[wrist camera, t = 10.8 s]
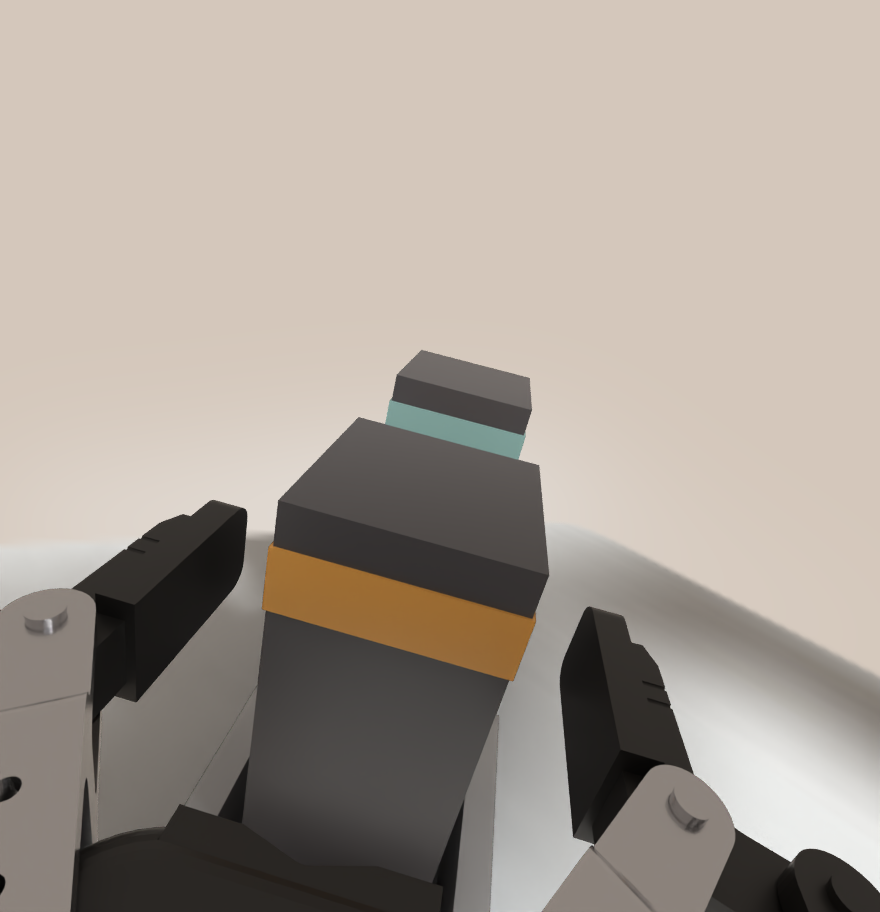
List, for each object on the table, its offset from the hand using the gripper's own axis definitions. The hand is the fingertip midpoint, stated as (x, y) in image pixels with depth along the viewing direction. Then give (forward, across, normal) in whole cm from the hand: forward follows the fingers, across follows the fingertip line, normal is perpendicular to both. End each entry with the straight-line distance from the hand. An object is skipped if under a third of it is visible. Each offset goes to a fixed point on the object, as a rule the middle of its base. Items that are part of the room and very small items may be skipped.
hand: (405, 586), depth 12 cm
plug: (-1, 0, +8) cm, 9 cm away
